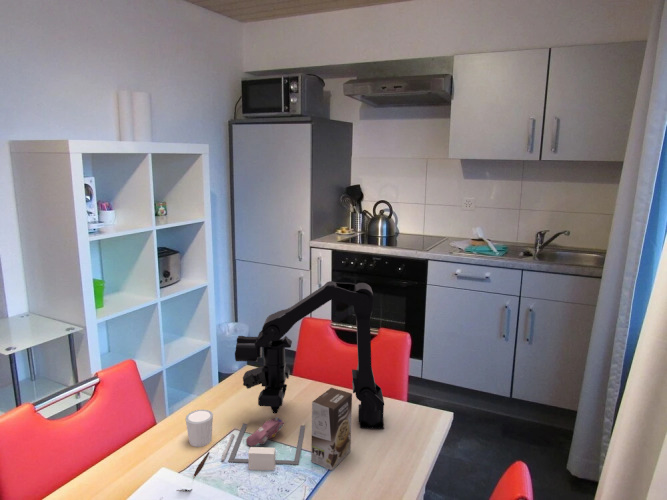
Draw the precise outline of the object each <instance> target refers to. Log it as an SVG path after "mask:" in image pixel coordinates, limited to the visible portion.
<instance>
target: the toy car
mask: <svg viewBox="0 0 667 500" xmlns="http://www.w3.org/2000/svg"><path fill="white" fill-rule="evenodd" d="M284 426H285V422H284V421H283V420H282V419H281V418H280V417H278V416H277V417H276V416H275V418H271V419H268V420H265V422H264V423H263V424H262V425H261V426H260V427H259V428H258V429H256V431H255V432H254V433H252V434H250V435H248V436H247V437H246V439H245V440H246V441H245V442H246V444H247V446H250V447H255V446H257V445H258V444H260V445H265V443H266V442H267V441H268V440H269V439H273V438H275V436H276V434H277V433H278V432H279V431H280V430H281V429H282V428H283V427H284Z"/></svg>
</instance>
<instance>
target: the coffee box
mask: <svg viewBox="0 0 667 500" xmlns="http://www.w3.org/2000/svg"><path fill="white" fill-rule="evenodd" d="M352 409H353V392H352V393H351V392H348V391H346V390H345V391H344V390H341V389H338V388H333V387H330V388H329V389H328V390H326V391H324V392H323V393H322V394H320V395H319V396H318V397H317V398H315V399H314V400H312V402H311V444H310V445H311V455H310V457H311V458H310V459H311V460H310V461H311V463H314V464H315V465H318V466H319V467H323V468H325V469H327V470H329V471H333V470H334V469H335V468H336V467H337V466H338V465H340V463H341V462H342V461H343V459H345V458H346V457H347V456H348V455H349V454H350V453H351V451H352V449H351V448H352V447H351V445H352V415H353V414H352V411H353V410H352Z"/></svg>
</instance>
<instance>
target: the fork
mask: <svg viewBox="0 0 667 500" xmlns="http://www.w3.org/2000/svg"><path fill="white" fill-rule="evenodd" d="M209 454H210V451H209V452H207V453H206V455H205V456H204V457H203V459H202V460H201V461H200V462H199V464H198V466H197V467H196V469H195V470H194V471H195V472H194V474H193V476H192V478H193V479H194V480H195V479H196V477H197V476H198V474H199V473H200V471H202V469H203V467H204V465H205V463H206V461H207V458H208V457H209ZM182 490H183V489H182ZM182 490H179V489H176V492H185V493H187V492H188V493H189V491H188V490H187V491H185V490H183V491H182Z"/></svg>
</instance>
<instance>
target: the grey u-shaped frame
mask: <svg viewBox="0 0 667 500" xmlns="http://www.w3.org/2000/svg"><path fill="white" fill-rule="evenodd" d="M247 426H248V423H245V422H244V423H242V425H241V427H240V431H239V432H238V436H237V437H236V440H235V443H234V446H233V448H232V450H231V453H230V455H229V458H228V460H227V463H228V462H229V463H230V462H231V464H234V463H235V464H248V470H249V471H268V470H274V471H275V469H274V468H276V465H283V464H290V465H289V466H294V465H295V466H299V465H300V460H301V453H302V449H303V448H302V447H303V440H304V434H305V429H306V425H305V424H304V425H301V424H300V427H299V432H298V439H297V444H296V450H295V454H294V460H289V459H287V460H286V459H283V460H282V459H276V447H262V446H261V447H259V446H258V447H257V446H250V447H249V451H248V455H247V456H248V458H236V455H237V453H238V451H239V448H240V445H241V442H242V440H243V437H244V435H245V432H246V429H247ZM234 438H235V434H234V433H231V435H230V436H229V440H228V442H227V444H226V447H225V449H224V451H223V453H222V457H221V459H220V460H221V461H222V462H224V461H225V460H226V457H227V455H228V452H229V449H230V447H231V445H232V442H233V440H234ZM232 462H233V463H232ZM229 463H228V464H229ZM292 464H293V465H292Z"/></svg>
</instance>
